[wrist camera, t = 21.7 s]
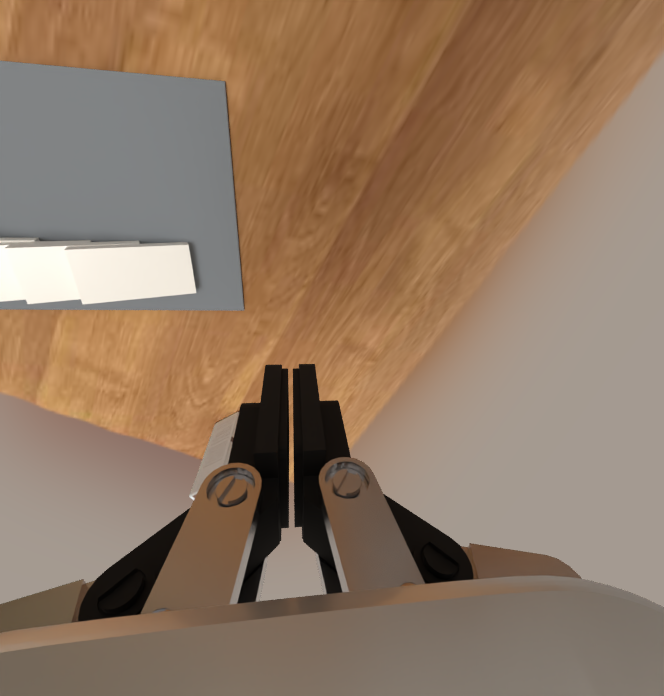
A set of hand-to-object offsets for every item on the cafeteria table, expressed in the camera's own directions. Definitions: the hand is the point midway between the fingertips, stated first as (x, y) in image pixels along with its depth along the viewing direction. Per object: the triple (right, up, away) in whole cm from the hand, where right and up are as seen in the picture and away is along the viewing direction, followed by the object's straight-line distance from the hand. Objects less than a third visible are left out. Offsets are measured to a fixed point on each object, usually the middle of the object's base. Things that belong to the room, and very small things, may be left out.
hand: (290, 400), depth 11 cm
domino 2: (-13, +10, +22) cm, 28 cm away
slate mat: (-21, +16, +20) cm, 33 cm away
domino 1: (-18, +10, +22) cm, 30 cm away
